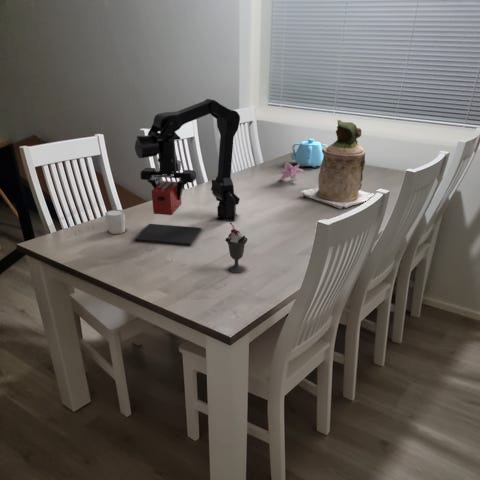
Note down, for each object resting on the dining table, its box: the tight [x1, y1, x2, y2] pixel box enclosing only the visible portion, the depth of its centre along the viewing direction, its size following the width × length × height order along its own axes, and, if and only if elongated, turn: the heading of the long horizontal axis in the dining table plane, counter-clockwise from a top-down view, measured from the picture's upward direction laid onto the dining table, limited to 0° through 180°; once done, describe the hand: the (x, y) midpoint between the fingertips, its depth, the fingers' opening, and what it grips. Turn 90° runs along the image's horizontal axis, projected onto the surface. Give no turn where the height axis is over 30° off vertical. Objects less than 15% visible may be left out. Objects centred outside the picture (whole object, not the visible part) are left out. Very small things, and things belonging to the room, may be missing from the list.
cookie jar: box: [300, 119, 375, 210], centre depth 203 cm, size 25×25×32 cm
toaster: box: [151, 180, 182, 216], centre depth 167 cm, size 13×6×8 cm, turn 169°
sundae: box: [225, 222, 248, 274], centre depth 145 cm, size 7×7×15 cm
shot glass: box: [105, 209, 126, 235], centre depth 174 cm, size 7×7×7 cm
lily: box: [277, 162, 305, 185], centre depth 229 cm, size 12×12×10 cm
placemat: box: [134, 223, 202, 247], centre depth 172 cm, size 20×15×1 cm
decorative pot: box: [290, 138, 328, 168], centre depth 255 cm, size 16×16×14 cm
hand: (170, 199), depth 170 cm, fingers closed on toaster, 6 cm apart
